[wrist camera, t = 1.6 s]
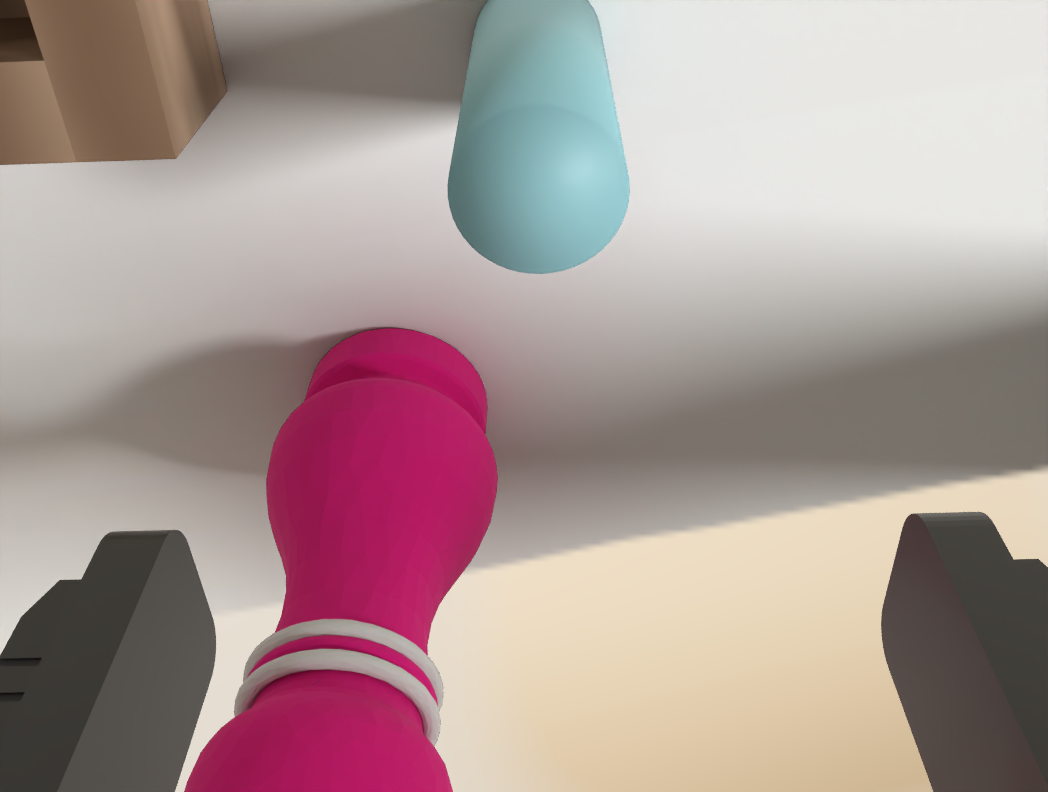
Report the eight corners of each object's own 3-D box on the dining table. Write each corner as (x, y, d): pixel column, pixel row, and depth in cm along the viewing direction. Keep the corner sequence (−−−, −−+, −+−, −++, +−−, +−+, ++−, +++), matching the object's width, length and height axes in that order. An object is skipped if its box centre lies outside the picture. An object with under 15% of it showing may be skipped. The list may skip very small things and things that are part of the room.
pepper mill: (499, 481, 37) (471, 1101, 21) (306, 475, 37) (127, 1092, 21) (503, 316, 33) (471, 932, 17) (285, 309, 33) (40, 921, 17)
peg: (602, -27, 27) (632, 100, 18) (601, 104, 29) (627, 271, 21) (468, -22, 27) (439, 107, 19) (478, 109, 29) (455, 276, 21)
